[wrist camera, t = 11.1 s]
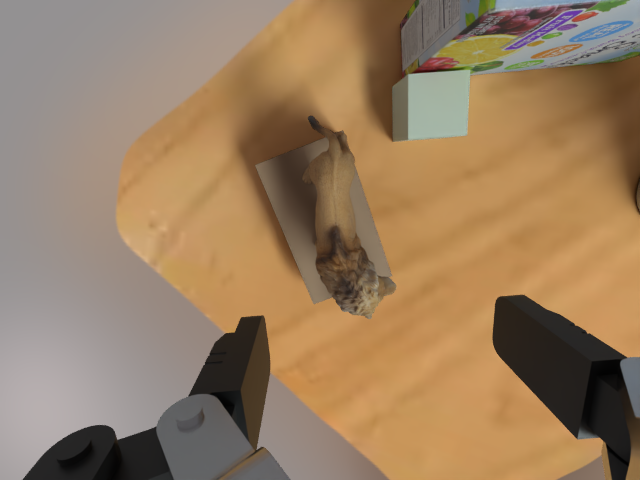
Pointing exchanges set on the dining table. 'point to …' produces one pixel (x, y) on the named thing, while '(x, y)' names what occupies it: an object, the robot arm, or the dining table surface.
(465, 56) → the snack box
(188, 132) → the dining table surface
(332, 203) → the lion figurine
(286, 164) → the taupe rectangular block
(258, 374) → the robot arm
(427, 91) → the sage cube
